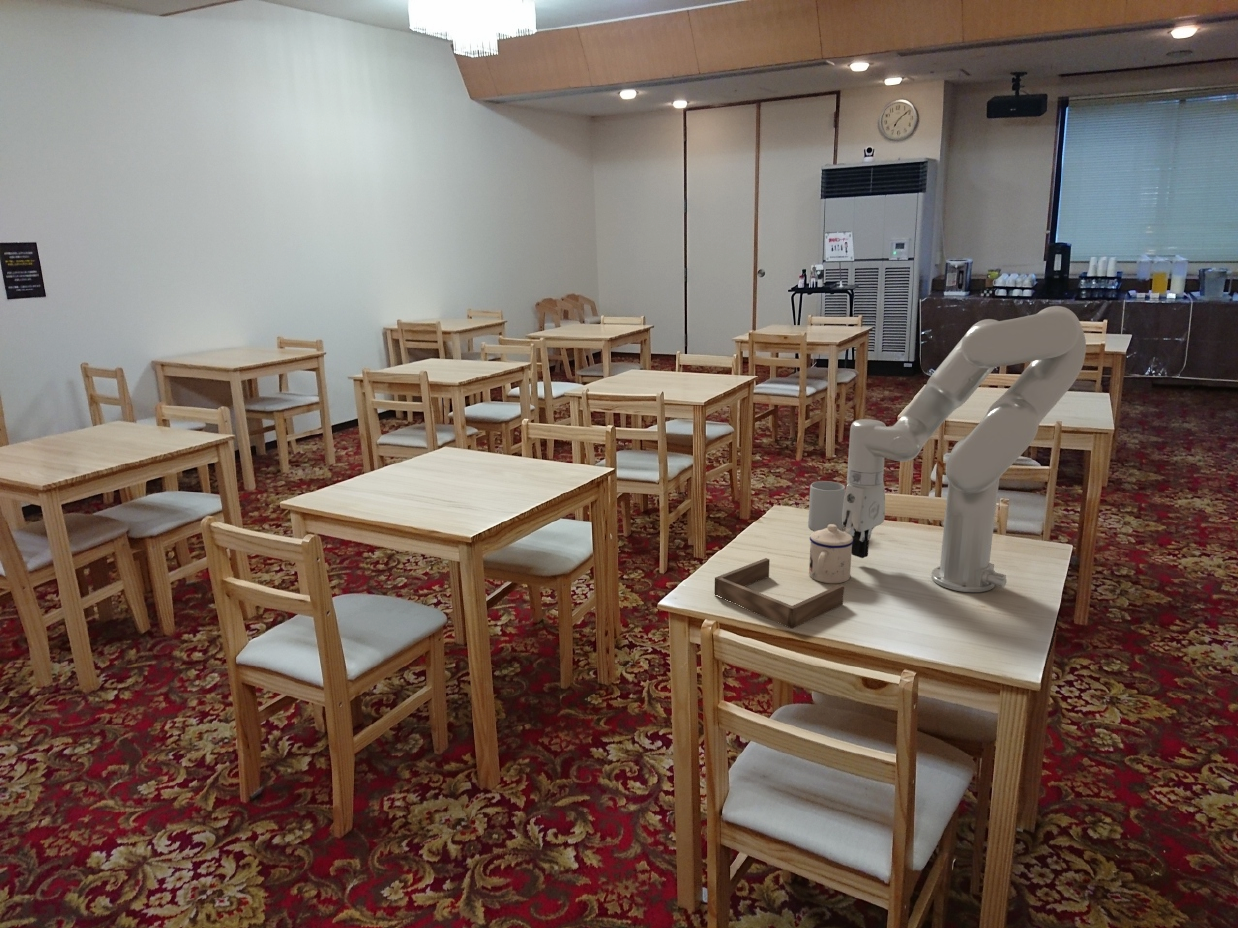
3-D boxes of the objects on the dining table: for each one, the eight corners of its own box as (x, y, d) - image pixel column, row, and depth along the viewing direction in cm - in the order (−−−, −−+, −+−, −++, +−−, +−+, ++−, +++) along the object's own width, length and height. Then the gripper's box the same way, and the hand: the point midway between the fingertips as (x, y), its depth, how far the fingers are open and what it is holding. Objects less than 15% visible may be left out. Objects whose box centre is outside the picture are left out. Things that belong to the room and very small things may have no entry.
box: (842, 604, 170) (844, 585, 169) (792, 628, 160) (793, 609, 159) (765, 575, 184) (765, 557, 183) (714, 595, 174) (714, 577, 173)
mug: (831, 535, 208) (833, 493, 205) (801, 527, 213) (803, 486, 210) (856, 523, 216) (859, 482, 213) (826, 516, 222) (829, 476, 219)
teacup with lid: (815, 565, 190) (817, 515, 186) (856, 572, 185) (859, 522, 182) (797, 584, 180) (800, 532, 176) (840, 592, 175) (843, 539, 172)
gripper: (859, 487, 177) (853, 569, 182) (899, 473, 186) (893, 552, 191) (829, 479, 182) (825, 559, 187) (870, 466, 192) (864, 543, 197)
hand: (859, 555), depth 189 cm, fingers closed
